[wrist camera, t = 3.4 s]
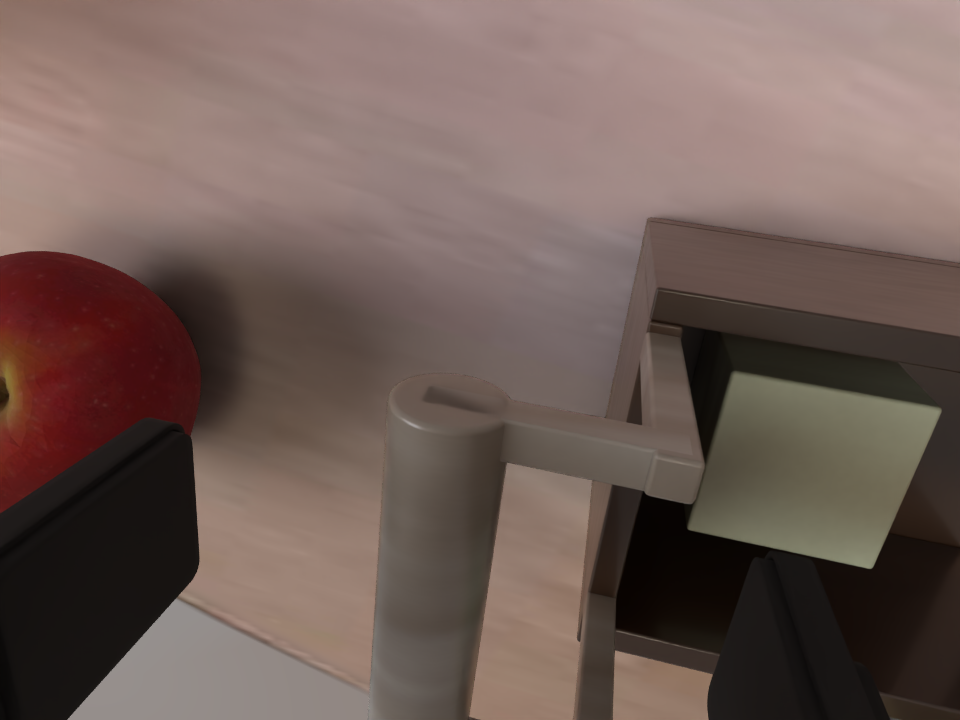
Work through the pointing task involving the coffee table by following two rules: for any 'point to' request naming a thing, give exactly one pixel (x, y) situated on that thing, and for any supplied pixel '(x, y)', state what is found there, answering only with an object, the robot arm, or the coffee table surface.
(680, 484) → the basket
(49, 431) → the apple
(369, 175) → the coffee table surface
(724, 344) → the block
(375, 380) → the coffee table surface
